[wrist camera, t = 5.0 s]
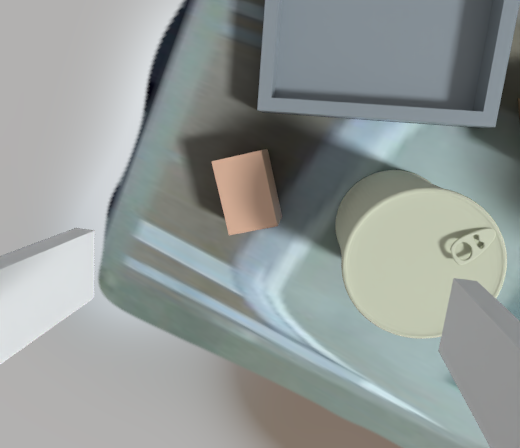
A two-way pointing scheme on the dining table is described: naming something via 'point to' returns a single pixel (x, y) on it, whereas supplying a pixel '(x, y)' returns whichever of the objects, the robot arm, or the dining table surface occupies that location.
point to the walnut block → (519, 107)
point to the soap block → (247, 192)
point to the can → (413, 250)
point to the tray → (387, 59)
